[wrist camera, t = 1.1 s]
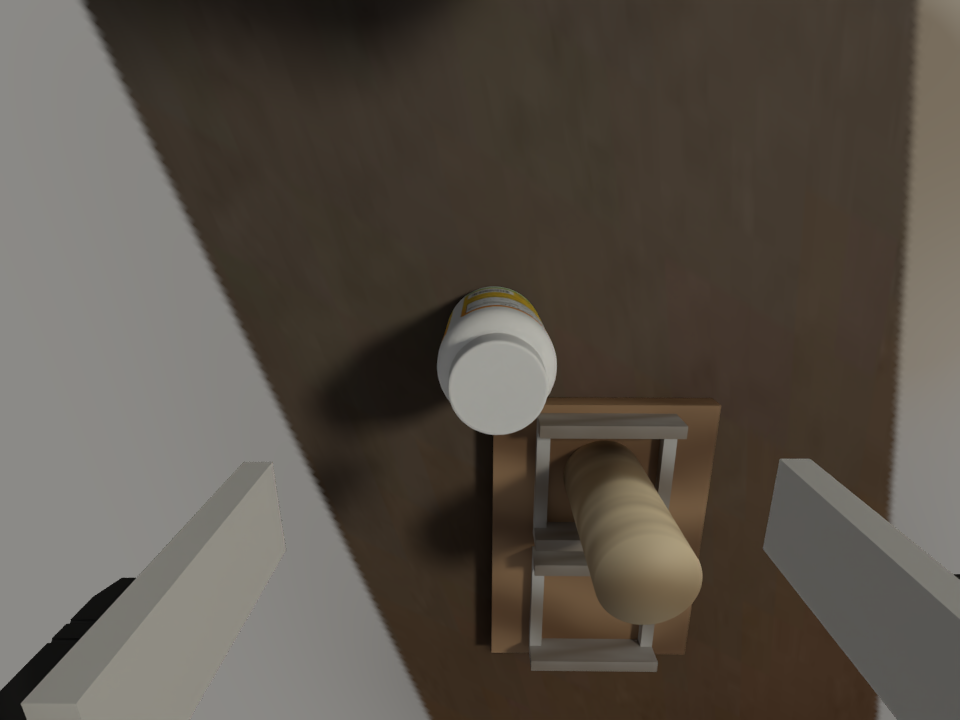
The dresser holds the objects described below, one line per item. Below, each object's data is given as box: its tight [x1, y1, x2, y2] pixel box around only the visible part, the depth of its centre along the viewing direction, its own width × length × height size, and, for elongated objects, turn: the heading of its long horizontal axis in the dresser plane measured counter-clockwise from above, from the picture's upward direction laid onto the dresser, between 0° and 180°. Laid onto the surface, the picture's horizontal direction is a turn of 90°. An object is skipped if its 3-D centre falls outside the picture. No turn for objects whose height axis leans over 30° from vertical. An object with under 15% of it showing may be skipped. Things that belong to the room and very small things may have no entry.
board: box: [491, 397, 721, 672], centre depth 31 cm, size 18×13×3 cm
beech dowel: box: [563, 440, 702, 625], centre depth 26 cm, size 5×5×9 cm
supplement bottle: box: [437, 287, 557, 435], centre depth 24 cm, size 5×5×10 cm
